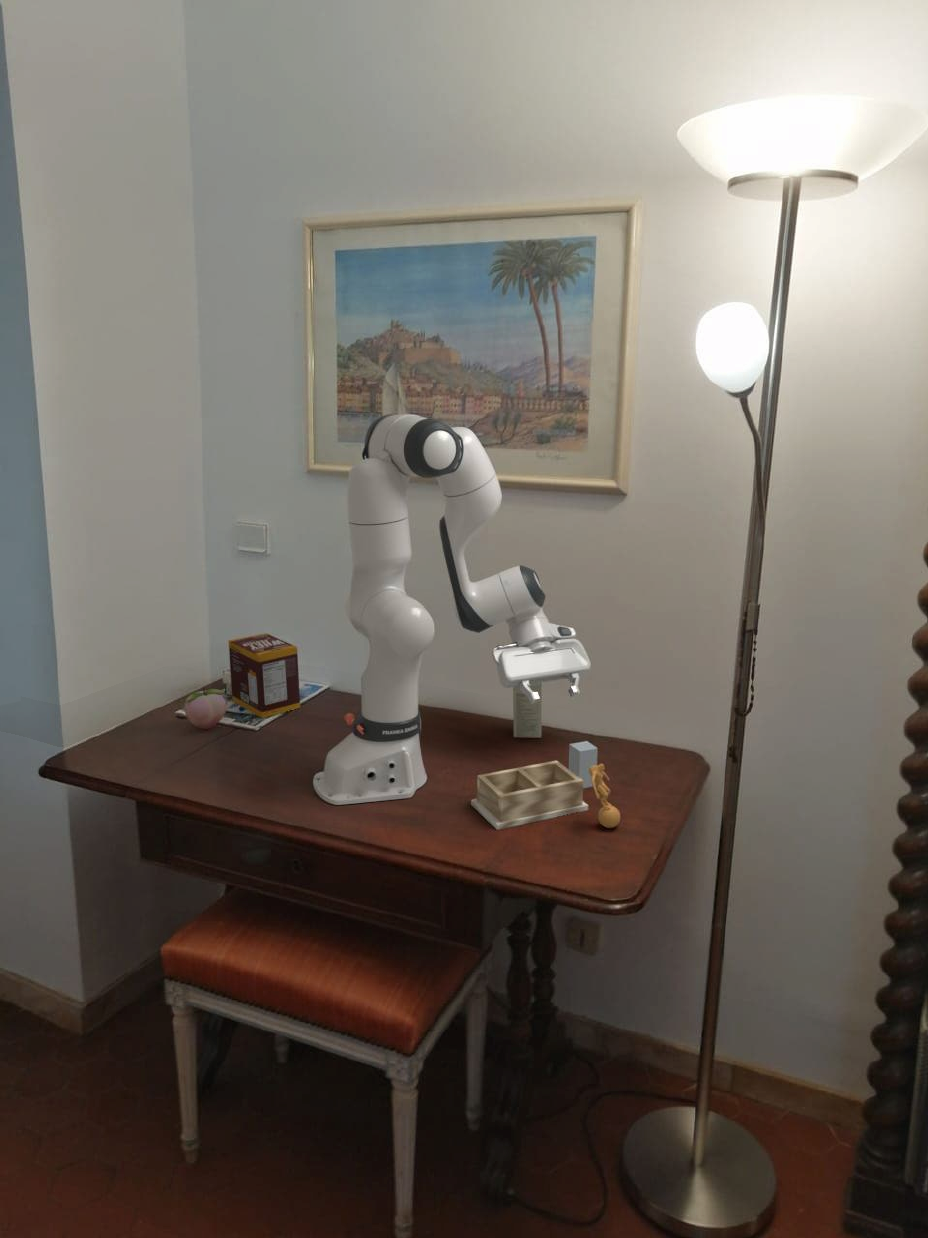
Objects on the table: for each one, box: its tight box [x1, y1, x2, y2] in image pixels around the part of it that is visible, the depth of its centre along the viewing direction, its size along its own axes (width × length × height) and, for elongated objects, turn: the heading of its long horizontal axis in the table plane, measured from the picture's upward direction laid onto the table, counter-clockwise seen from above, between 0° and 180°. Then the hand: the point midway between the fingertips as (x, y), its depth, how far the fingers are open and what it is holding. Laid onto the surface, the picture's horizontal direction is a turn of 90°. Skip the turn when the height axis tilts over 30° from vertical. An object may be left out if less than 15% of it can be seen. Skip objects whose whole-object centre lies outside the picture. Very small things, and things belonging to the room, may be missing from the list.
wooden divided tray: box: [470, 760, 589, 831], centre depth 182 cm, size 19×11×6 cm, turn 114°
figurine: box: [589, 763, 621, 829], centre depth 175 cm, size 8×6×12 cm
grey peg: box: [568, 740, 599, 789], centre depth 192 cm, size 4×4×8 cm
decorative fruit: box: [184, 687, 228, 730], centre depth 218 cm, size 9×8×10 cm
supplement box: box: [228, 632, 301, 719], centre depth 233 cm, size 10×15×16 cm
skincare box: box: [512, 683, 543, 739], centre depth 216 cm, size 6×4×12 cm
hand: (555, 698), depth 199 cm, fingers open, 8 cm apart
